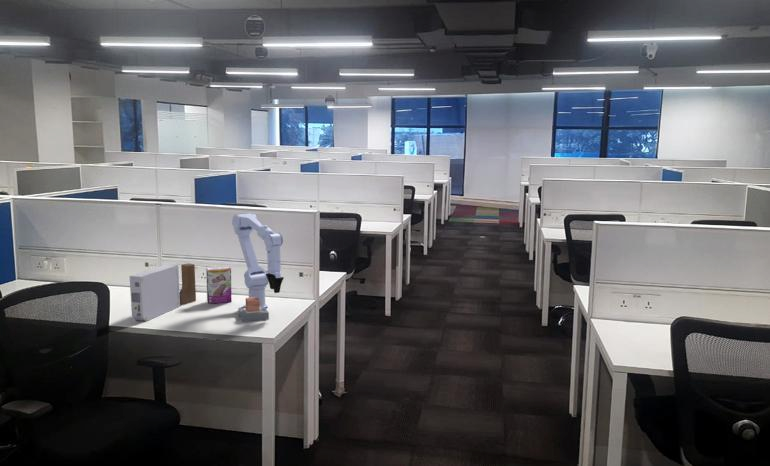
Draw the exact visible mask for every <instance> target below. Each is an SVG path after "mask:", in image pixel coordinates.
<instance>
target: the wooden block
mask: <svg viewBox="0 0 770 466" xmlns="http://www.w3.org/2000/svg"><path fill="white" fill-rule="evenodd" d="M180 265H181V270H180V271H181V289H180V290H179V292H180V306H183V305H186V304H190V303H193V302H196V301H197V293H196V292H197V289H196V269H195V265H196V264H194V263H184V264H180Z"/></svg>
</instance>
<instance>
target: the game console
mask: <svg viewBox="0 0 770 466" xmlns="http://www.w3.org/2000/svg"><path fill="white" fill-rule="evenodd" d="M179 273H180V271H179V263H167V264H164V265H161V266H158V267H157V266H156V267H154V268H151V269H148V270H145V271H141V272H138V273H135V274H131V275H129V287H130V288H129V289H130V303H131V304H130V305H131V307H130V309H131V317H132V318H133V319H134V320H135V321H142V322H148V321H150V320H152V319H153V320H154V319H155V318H157V317H160V316H162V315H164V314H166V313H169V312H171V311H173V310H175V309H178V308H180V307H181V305H180V277H179V276H180V274H179Z"/></svg>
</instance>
